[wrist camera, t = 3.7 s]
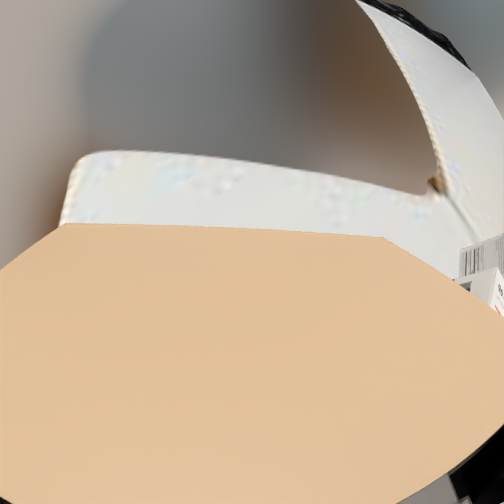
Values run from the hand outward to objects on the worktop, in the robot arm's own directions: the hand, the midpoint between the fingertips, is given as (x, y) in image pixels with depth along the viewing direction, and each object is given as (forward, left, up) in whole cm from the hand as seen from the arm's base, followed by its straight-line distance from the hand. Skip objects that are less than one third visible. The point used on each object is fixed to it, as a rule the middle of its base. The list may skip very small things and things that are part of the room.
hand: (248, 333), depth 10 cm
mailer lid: (+1, 0, +2) cm, 2 cm away
